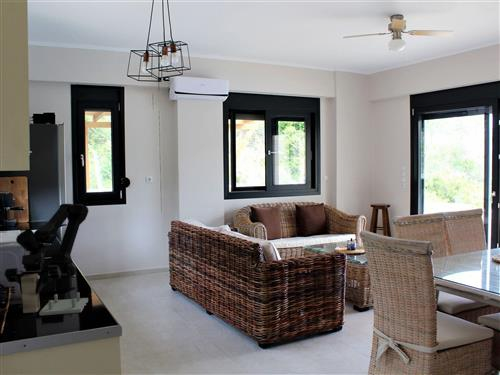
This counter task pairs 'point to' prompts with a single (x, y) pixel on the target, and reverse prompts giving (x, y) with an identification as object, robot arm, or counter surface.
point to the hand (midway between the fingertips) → (29, 293)
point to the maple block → (30, 293)
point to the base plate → (64, 305)
